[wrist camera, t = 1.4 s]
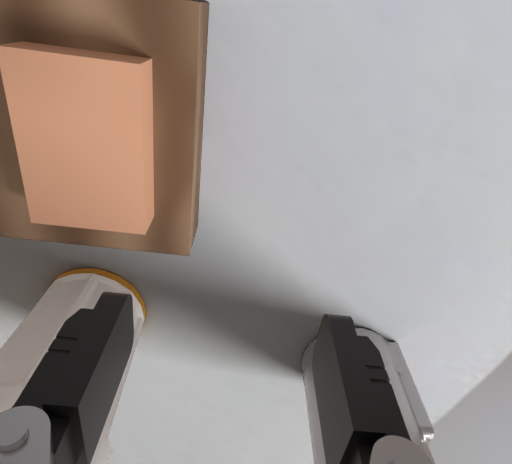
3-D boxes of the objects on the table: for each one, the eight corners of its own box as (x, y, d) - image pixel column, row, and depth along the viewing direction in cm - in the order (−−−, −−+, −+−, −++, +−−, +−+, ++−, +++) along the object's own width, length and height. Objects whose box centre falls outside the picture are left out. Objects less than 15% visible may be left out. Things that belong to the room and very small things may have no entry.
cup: (12, 268, 34) (-178, 472, 19) (133, 247, 33) (29, 447, 18) (68, 355, 40) (-46, 565, 25) (173, 340, 39) (119, 551, 24)
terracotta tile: (152, 58, 21) (140, 64, 19) (154, 216, 26) (145, 234, 24) (22, 41, 21) (-5, 45, 19) (49, 204, 26) (31, 222, 24)
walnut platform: (209, 2, 24) (199, 2, 20) (197, 225, 32) (189, 256, 28) (-59, -36, 23) (-124, -44, 19) (-2, 204, 31) (-39, 232, 27)
